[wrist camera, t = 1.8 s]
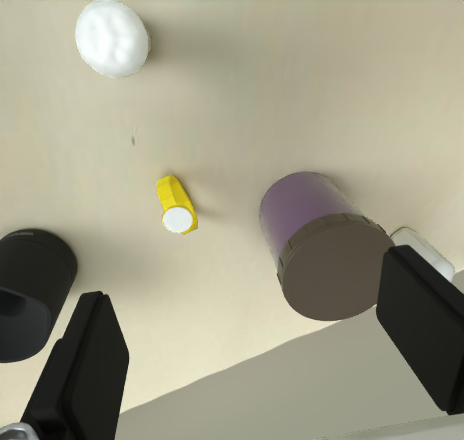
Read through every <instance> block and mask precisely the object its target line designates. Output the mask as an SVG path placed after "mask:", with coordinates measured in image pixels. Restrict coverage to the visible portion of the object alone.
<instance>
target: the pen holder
mask: <svg viewBox="0 0 464 440" xmlns="http://www.w3.org/2000/svg"><path fill="white" fill-rule="evenodd" d="M76 272H77V263H76V259H75V256H74V254H73V252H72V251H71V249H70V248H69V247H68V246H67V245H66V244H65V243H64V242H63V241H62V240H60V239H59V238H57V237H55V236H53V235H51V234H49V233H46V232H42V231H37V230H20V231H16V232H13V233H10V234H8V235H6V236H5V237H3V238H2V239H1V240H0V363H11V362H17V361H22V360H25V359H28V358H30V357H32V356H34V355H35V354H37V353H38V352H40V351H41V350H42V349H43V347H44V346H45V345H46V343H47V341H48V339H49V337H50V335H51V332H52V330H53V328H54V325H55V323H56V321H57V318H58V316H59V314H60V312H61V309H62V307H63V305H64V302H65V300H66V298H67V296H68V293H69V291H70V288H71V286H72V283H73V281H74V278H75V275H76Z"/></svg>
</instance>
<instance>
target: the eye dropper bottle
mask: <svg viewBox="0 0 464 440" xmlns="http://www.w3.org/2000/svg"><path fill="white" fill-rule="evenodd" d="M390 238H391V239H392V240H393V242H394V244H395V245H396V246H399V245H405V244H407V245H410V246H411V247H412V248H413V249H414V250H415V251H416V252H418V253H419V254H420V255H421V256H422V257H423V258H424V259H425V260H426V261H427V262H429V263H430V264H431V265H432V266H433V267H434V268H435V269H436V270H437V271H438V272H440V273H441V274H442V275H443V276H444V277H445V278H446V279H447V280H448V281H449V282H452V280H453V277H454V273H455V267H454V266H453V264H452V263H451V262H450V261H448V260H447V259H446V258H445V257H444V256H443V255H442V254H441V253H440V252H438V251H437V250H436V249H435V248H434V247H433V246H431V245H430V244H429V243H428V242H427V241H426V240H425V239H423V238H422V237H421V236H420V235H419V234H418V233H416V232H415V231H413V230H411V229H409V228H402V229H400V230H398V231H397V232H396V233H394V234H393V235H392V236H391V237H390Z"/></svg>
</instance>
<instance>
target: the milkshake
mask: <svg viewBox="0 0 464 440" xmlns="http://www.w3.org/2000/svg"><path fill="white" fill-rule="evenodd" d="M76 43H77V47H78V50H79V52H80V54H81V56H82V58H83V59H84V61H85V62H86V63H87V64H88V65H89V66H90V67H92V68H93V69H94V70H95V71H97V72H98V73H100V74H101V75H104V76H107V77H111V78H124V77H128V76H130V75H132V74H134V73H136V72H137V71H138V70H139V69H140V68H141V67H142V66H143V64H144V62H145V60H146V57H147V54H148V53H149V52H150V50H151V36H150V34H149V33H148V31H147V29H146V27H145V26H144V24H143V23H142V22H141V20H140V18H139V17H138V16H137V14H136V13H135V12H134V11H133V10H132V9H131V8H130V7H128V6H127V5H125V4H123V3H121V2H118V1H115V0H97V1H94V2H92V3H90V4H89V5H88V6H86V7H85V8H84V10H83V11H82V12H81V14H80V15H79V17H78V20H77V23H76Z"/></svg>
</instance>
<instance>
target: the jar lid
mask: <svg viewBox="0 0 464 440" xmlns="http://www.w3.org/2000/svg"><path fill="white" fill-rule="evenodd" d="M392 246H396V245H395V244H394V242H393V240H392V239H391V238H390V237H389V236H388V235H387V234H386V231H385V230H384V229H383V228H382V227H381V226H380V225H379V224H376V223H375V222H373V221H372V220H370V219H368V218H366V217H364V215H362V216H361V215H357V214H352V213H344V212H343V213H336V214H330V215H326V216H322V217H320V218H318V219H315V220H313V221H311V222H309V223H307V224H306V225H304V226H302V227H301V228H300V229H299V230H298V231H297V232H295V233H294V234H293V235H292V237H291V238H290V239H289V240H288V241H287V243H286V244H285V246H284V248H283V249H282V251H281V254H280V257H279V260H278V267H277V272H278V273H277V276H278V279H279V282H280V285H281V288H282V291H283V294H284V297H285V298H286V300H287V302H288V303H289V305H290V306H291V307H292V308H293V309H294V310H295V311H296V312H298V313H299V314H301V315H303V316H305V317H307V318H310V319H314V320H320V321H337V320H343V319H347V318H350V317H353V316H356V315H358V314H360V313H362V312H364V311H366V310H368V309H370V308H371V307H372V306H374V305H375V304H377V300H378V292H379V285H380V277H381V269H382V262H383V255H384V253H385V252H387V251H388V249H389V247H392Z"/></svg>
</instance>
